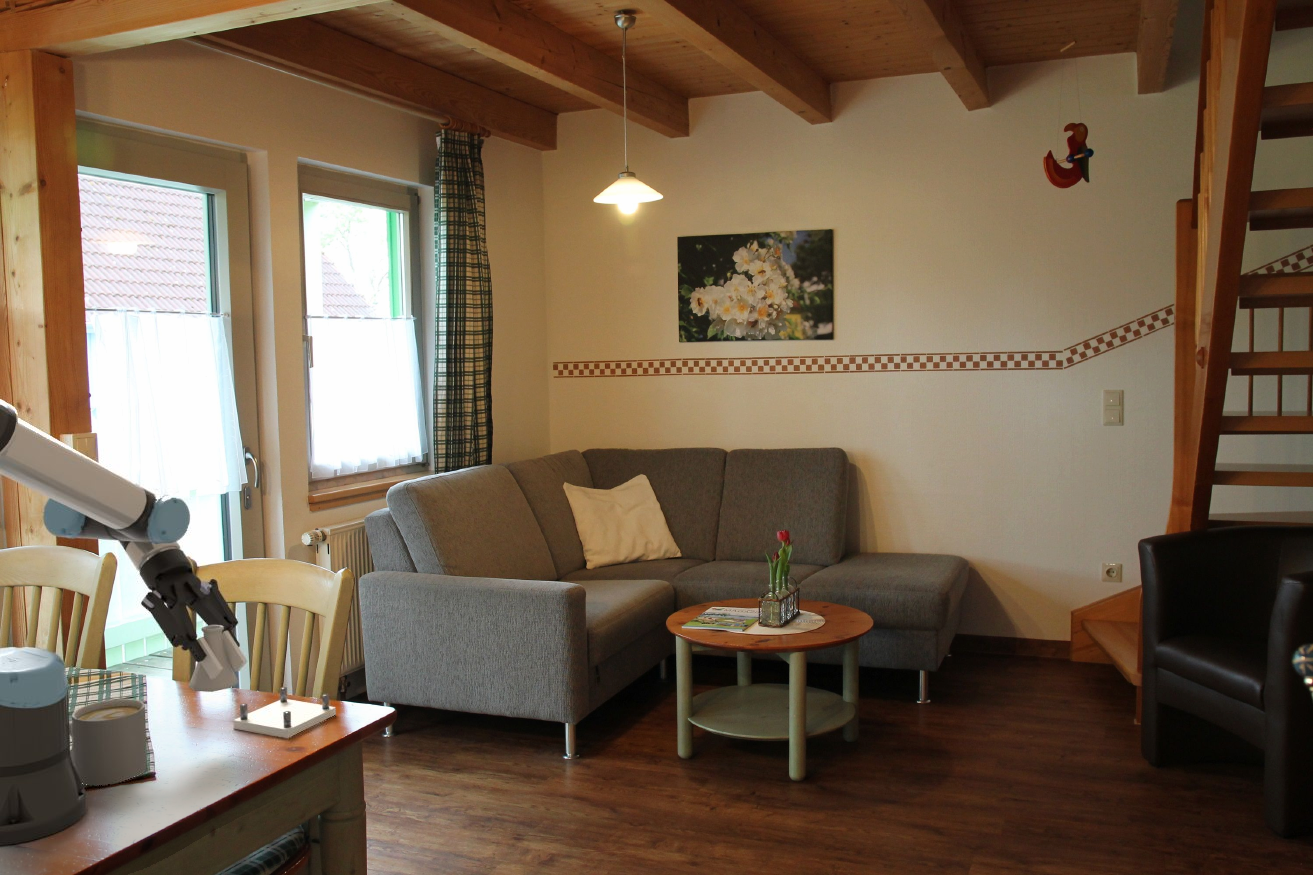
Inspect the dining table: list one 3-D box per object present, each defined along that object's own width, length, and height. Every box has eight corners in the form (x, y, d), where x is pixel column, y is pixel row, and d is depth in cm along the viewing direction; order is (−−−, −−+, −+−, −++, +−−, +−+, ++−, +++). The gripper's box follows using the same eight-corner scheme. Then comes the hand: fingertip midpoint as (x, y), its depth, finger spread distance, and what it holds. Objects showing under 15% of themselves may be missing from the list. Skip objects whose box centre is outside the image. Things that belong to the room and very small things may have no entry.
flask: (179, 689, 166) (178, 629, 166) (215, 677, 173) (214, 619, 172) (211, 695, 163) (210, 634, 162) (246, 683, 170) (246, 624, 169)
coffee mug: (160, 760, 162) (157, 699, 161) (123, 786, 152) (120, 721, 151) (80, 757, 163) (77, 697, 162) (38, 783, 153) (35, 719, 152)
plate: (288, 738, 172) (287, 729, 171) (233, 728, 176) (233, 719, 176) (335, 715, 183) (335, 707, 182) (283, 706, 187) (283, 698, 187)
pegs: (287, 728, 172) (287, 713, 172) (238, 719, 176) (238, 705, 176) (330, 707, 182) (330, 694, 182) (283, 699, 186) (283, 686, 186)
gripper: (193, 566, 181) (260, 670, 175) (102, 583, 166) (172, 698, 160) (213, 539, 179) (282, 644, 172) (123, 554, 163) (194, 670, 157)
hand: (229, 669), depth 166 cm, fingers closed on flask, 4 cm apart
